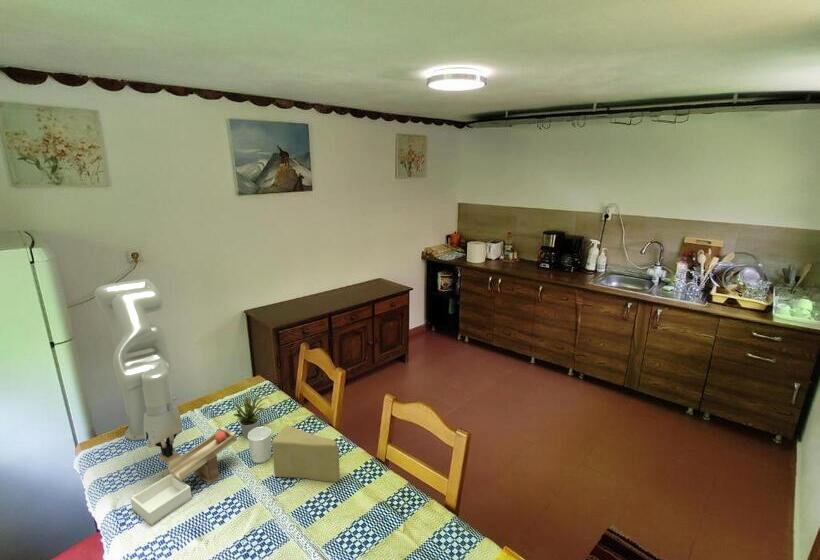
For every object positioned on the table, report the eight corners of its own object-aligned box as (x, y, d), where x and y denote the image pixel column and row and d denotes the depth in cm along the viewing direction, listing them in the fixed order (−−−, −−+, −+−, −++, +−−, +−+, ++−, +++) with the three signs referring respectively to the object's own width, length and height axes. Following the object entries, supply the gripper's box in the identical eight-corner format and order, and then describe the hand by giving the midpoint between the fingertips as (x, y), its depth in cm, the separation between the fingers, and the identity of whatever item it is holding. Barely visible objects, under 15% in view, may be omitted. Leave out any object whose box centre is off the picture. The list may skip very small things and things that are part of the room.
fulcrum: (193, 472, 139) (190, 450, 136) (204, 466, 142) (201, 444, 139) (210, 484, 134) (207, 461, 131) (221, 477, 137) (218, 454, 135)
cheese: (345, 471, 141) (344, 434, 137) (332, 491, 132) (331, 453, 128) (288, 458, 147) (286, 422, 143) (273, 477, 138) (270, 439, 134)
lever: (155, 464, 134) (152, 454, 133) (210, 427, 150) (208, 418, 148) (182, 484, 126) (179, 473, 125) (237, 443, 142) (235, 433, 141)
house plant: (280, 431, 161) (277, 395, 157) (250, 450, 150) (246, 412, 146) (256, 419, 169) (254, 384, 164) (226, 436, 157) (222, 399, 153)
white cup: (265, 466, 143) (263, 442, 140) (245, 462, 144) (243, 438, 141) (276, 451, 150) (275, 428, 147) (257, 448, 152) (255, 425, 149)
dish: (132, 509, 123) (130, 497, 122) (172, 484, 133) (171, 473, 132) (151, 526, 118) (149, 513, 117) (191, 498, 128) (190, 486, 127)
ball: (215, 442, 141) (210, 436, 139) (223, 433, 143) (218, 427, 141) (222, 445, 139) (217, 440, 137) (229, 436, 141) (225, 431, 139)
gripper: (176, 392, 138) (183, 438, 143) (128, 413, 126) (137, 463, 131) (189, 399, 134) (195, 446, 139) (141, 421, 122) (150, 472, 127)
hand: (167, 454), depth 135 cm, fingers closed
